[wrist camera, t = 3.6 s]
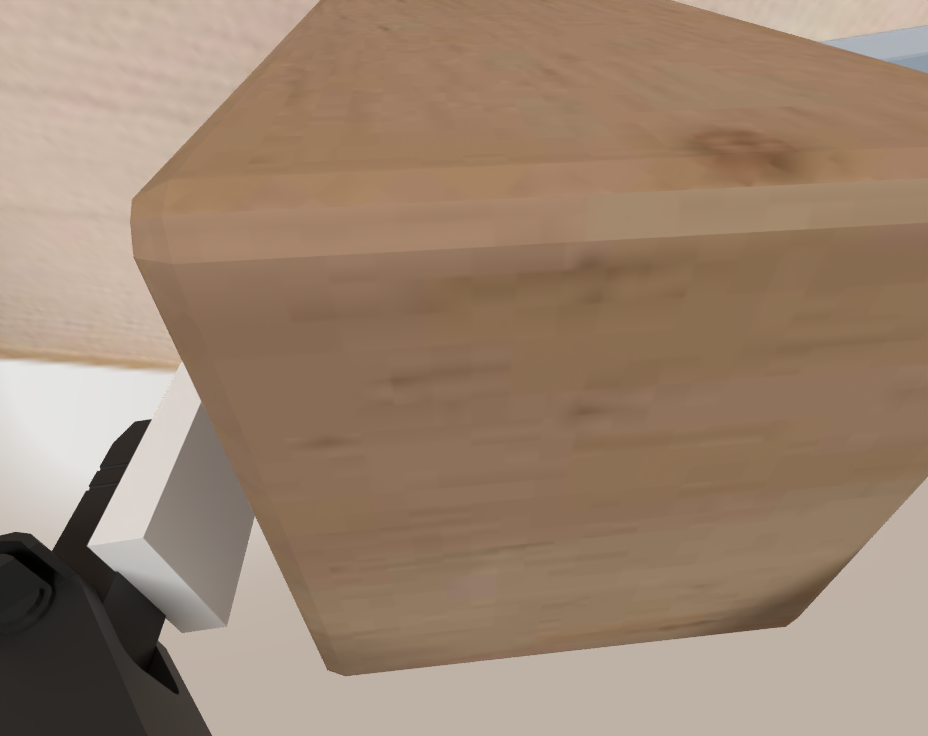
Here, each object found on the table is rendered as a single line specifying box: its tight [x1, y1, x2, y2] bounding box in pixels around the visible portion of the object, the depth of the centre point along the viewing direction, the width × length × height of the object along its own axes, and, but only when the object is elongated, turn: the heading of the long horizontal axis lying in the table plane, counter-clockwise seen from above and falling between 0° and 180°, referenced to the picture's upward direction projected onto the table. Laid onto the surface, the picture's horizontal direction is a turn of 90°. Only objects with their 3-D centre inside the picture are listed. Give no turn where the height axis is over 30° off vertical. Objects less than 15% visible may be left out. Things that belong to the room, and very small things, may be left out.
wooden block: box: [130, 0, 928, 676], centre depth 15 cm, size 10×10×20 cm
